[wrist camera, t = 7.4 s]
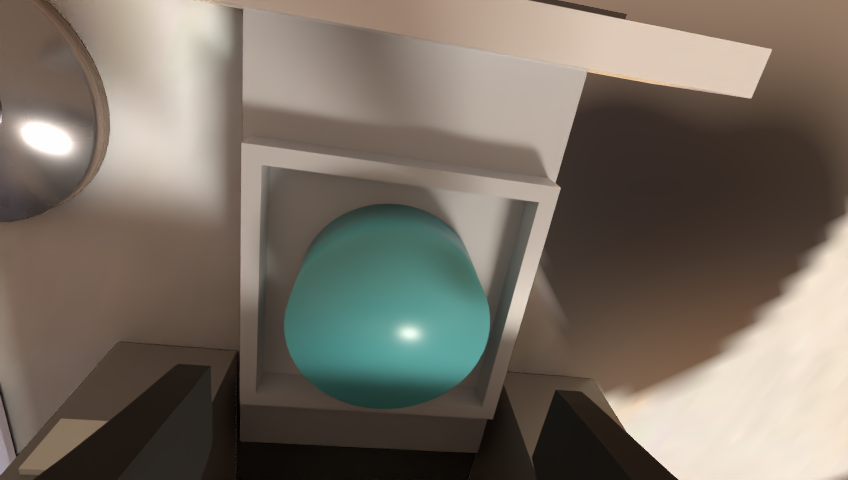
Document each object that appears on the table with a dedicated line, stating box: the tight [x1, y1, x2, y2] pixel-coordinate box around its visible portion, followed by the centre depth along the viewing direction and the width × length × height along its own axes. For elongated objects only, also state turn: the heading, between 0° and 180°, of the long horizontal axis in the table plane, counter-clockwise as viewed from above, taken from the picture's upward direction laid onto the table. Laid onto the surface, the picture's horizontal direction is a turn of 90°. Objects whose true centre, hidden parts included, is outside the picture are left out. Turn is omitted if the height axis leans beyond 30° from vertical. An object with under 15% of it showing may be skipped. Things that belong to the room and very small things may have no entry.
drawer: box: [196, 0, 772, 453], centre depth 13 cm, size 14×16×4 cm
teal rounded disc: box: [284, 204, 490, 409], centre depth 13 cm, size 6×6×2 cm
